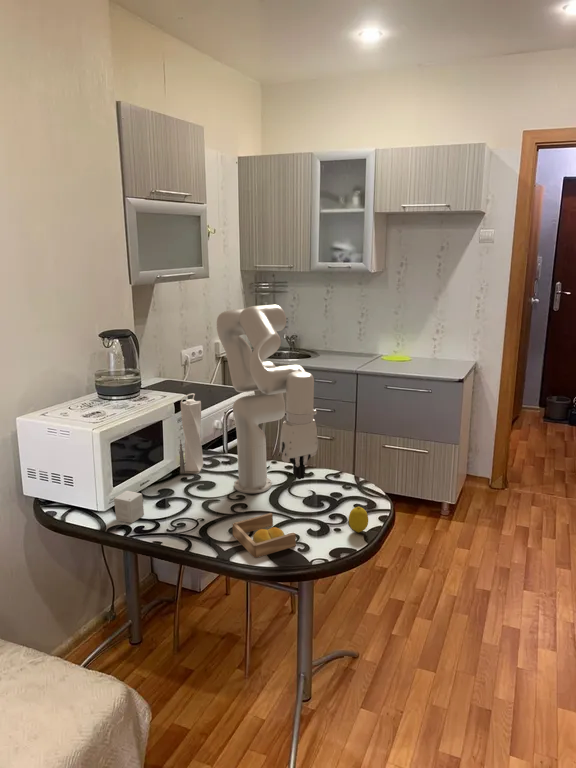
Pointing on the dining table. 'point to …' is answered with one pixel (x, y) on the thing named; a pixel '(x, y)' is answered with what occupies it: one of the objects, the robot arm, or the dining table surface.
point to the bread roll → (267, 534)
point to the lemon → (358, 519)
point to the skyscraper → (191, 436)
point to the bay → (265, 546)
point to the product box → (129, 506)
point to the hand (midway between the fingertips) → (298, 477)
